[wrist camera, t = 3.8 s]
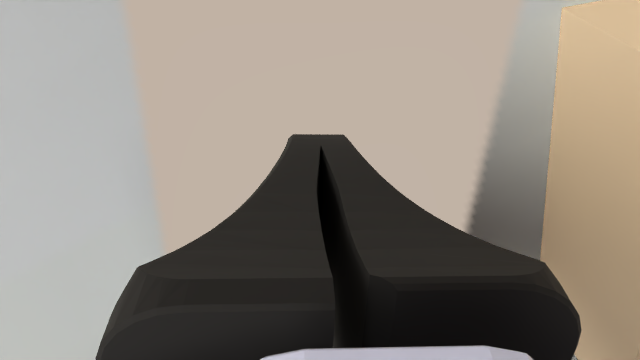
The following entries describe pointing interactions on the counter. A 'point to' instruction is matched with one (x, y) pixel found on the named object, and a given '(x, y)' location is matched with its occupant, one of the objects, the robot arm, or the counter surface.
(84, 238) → the counter surface
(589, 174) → the carton
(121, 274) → the counter surface
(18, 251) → the counter surface
